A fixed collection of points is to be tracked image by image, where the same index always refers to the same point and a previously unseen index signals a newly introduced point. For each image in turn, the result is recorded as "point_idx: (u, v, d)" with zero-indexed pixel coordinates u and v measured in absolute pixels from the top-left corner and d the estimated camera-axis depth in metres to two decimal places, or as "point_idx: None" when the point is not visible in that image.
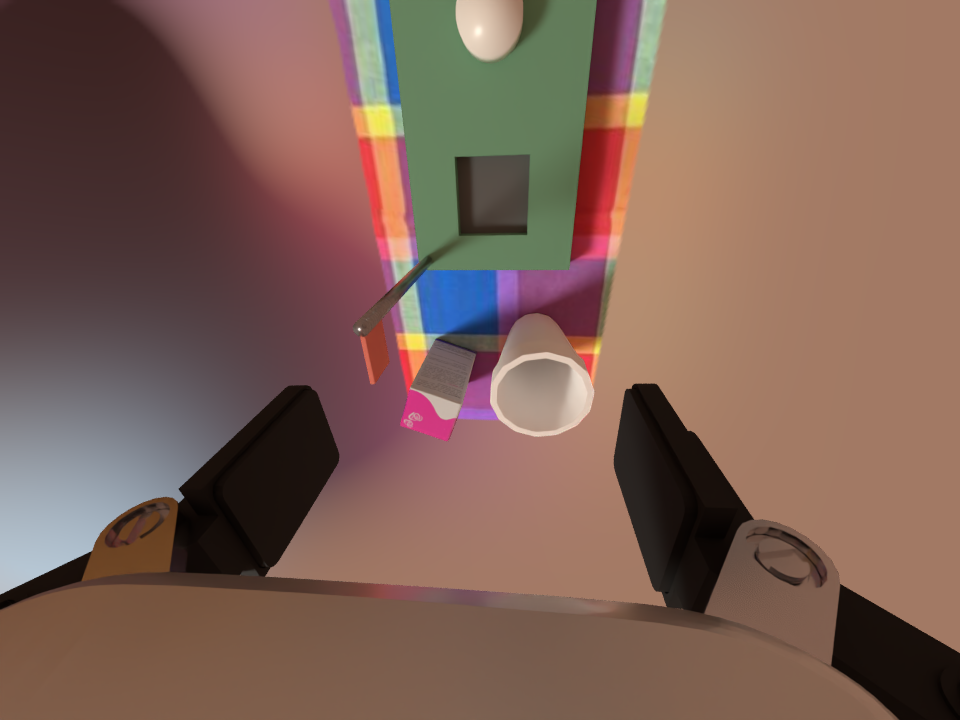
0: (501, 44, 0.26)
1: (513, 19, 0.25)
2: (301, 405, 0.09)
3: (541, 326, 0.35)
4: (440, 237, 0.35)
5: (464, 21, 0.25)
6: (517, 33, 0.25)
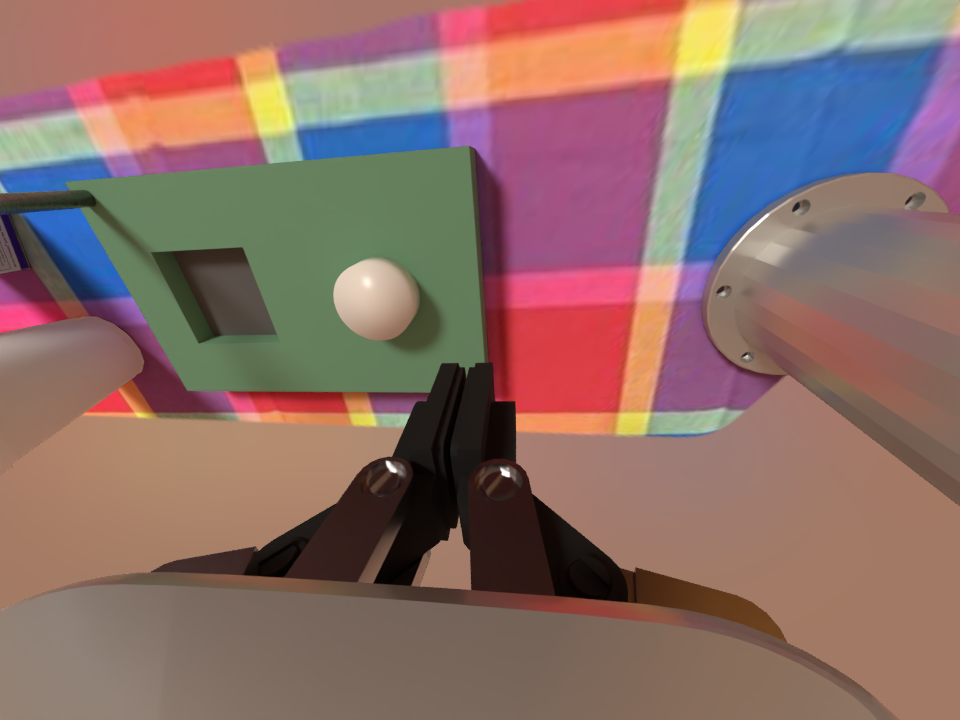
0: (348, 319, 0.22)
1: (372, 331, 0.22)
2: (461, 380, 0.10)
3: (75, 384, 0.26)
4: (133, 222, 0.22)
5: (358, 275, 0.20)
6: (363, 335, 0.22)
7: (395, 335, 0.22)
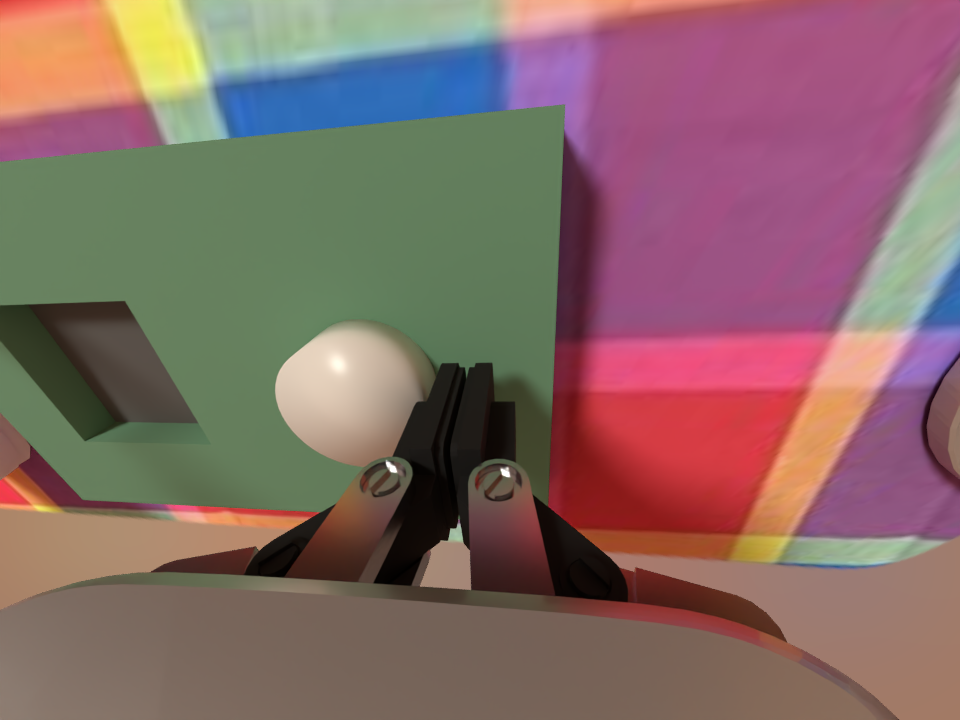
0: (308, 435, 0.12)
1: (352, 453, 0.12)
2: (461, 380, 0.10)
3: None
4: None
5: (318, 365, 0.10)
6: None
7: None
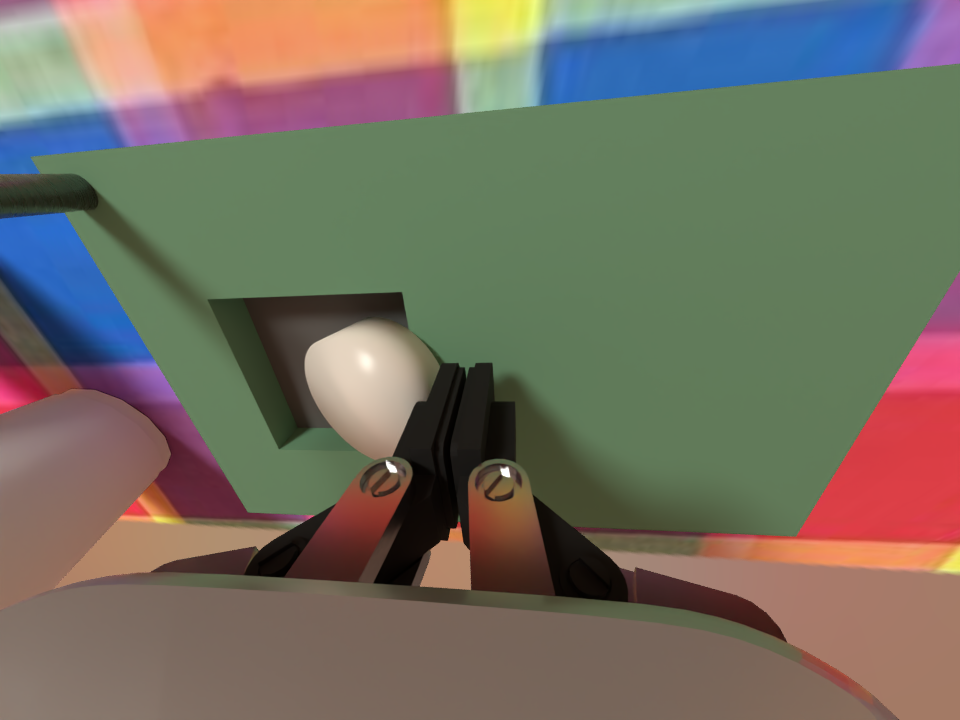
0: (330, 417, 0.13)
1: (362, 443, 0.13)
2: (461, 380, 0.10)
3: (58, 531, 0.14)
4: (175, 241, 0.11)
5: (329, 357, 0.11)
6: None
7: None
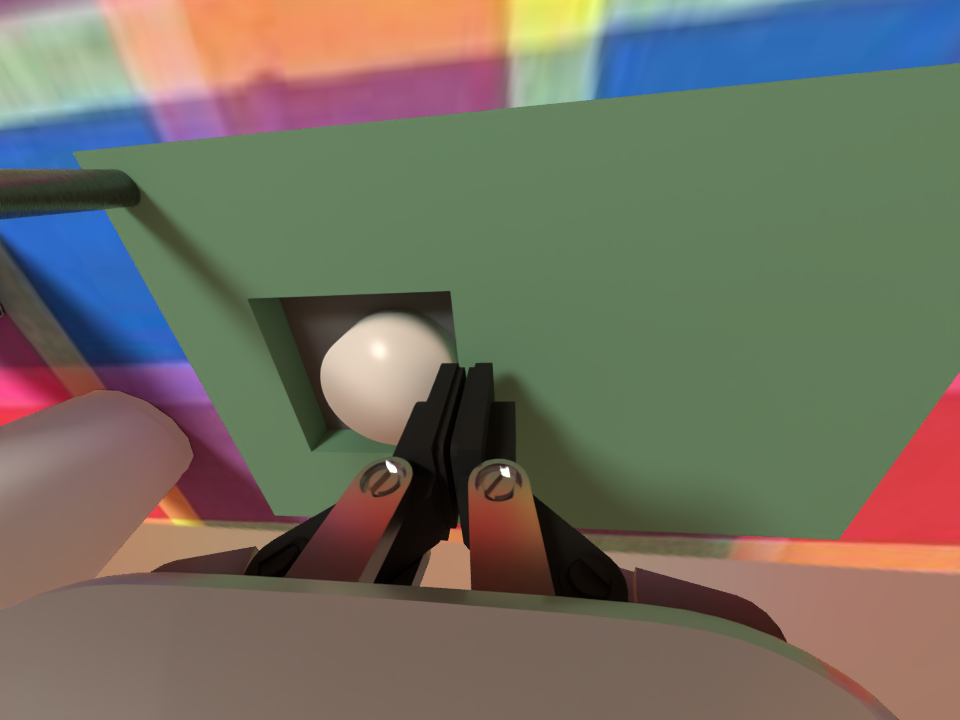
0: (349, 416, 0.13)
1: (389, 432, 0.13)
2: (461, 380, 0.10)
3: (88, 535, 0.14)
4: (218, 239, 0.11)
5: (361, 349, 0.11)
6: None
7: None
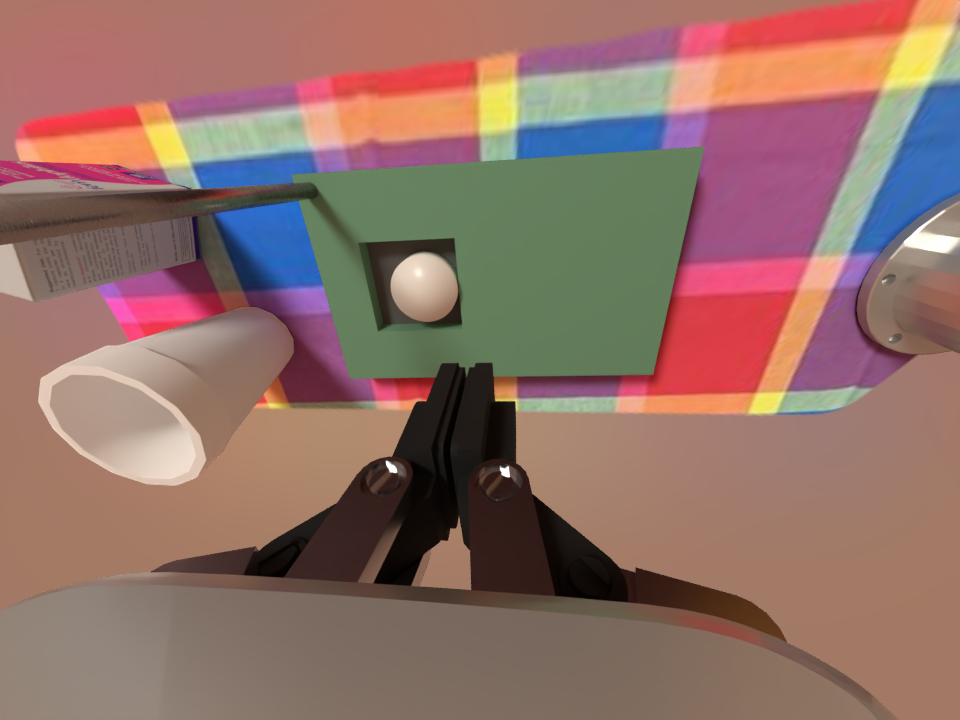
0: (402, 304, 0.26)
1: (422, 313, 0.26)
2: (461, 380, 0.10)
3: (262, 371, 0.27)
4: (349, 213, 0.23)
5: (412, 266, 0.24)
6: (414, 318, 0.26)
7: (442, 316, 0.26)
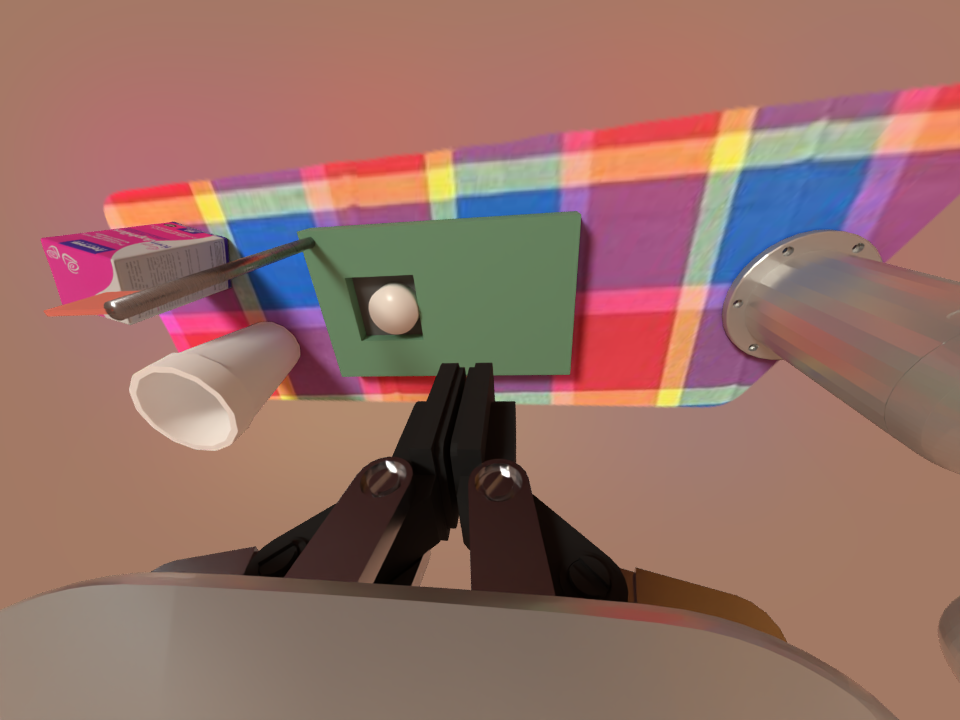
0: (377, 321, 0.35)
1: (392, 328, 0.35)
2: (461, 380, 0.10)
3: (276, 371, 0.36)
4: (338, 258, 0.33)
5: (384, 294, 0.33)
6: (387, 331, 0.36)
7: (407, 330, 0.35)
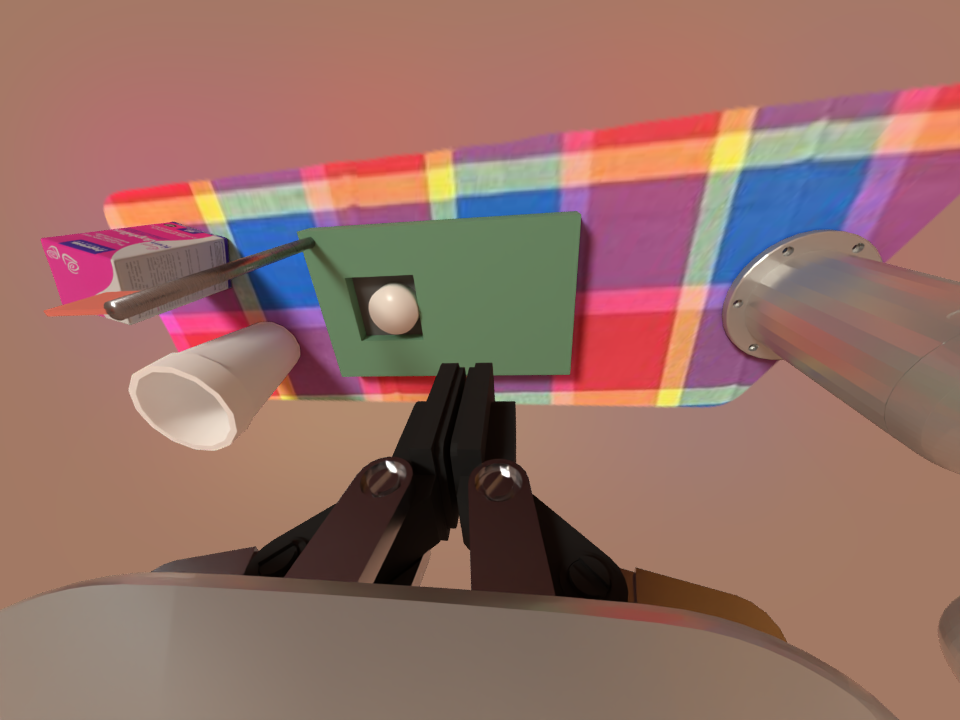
0: (377, 321, 0.35)
1: (392, 328, 0.35)
2: (461, 380, 0.10)
3: (276, 371, 0.36)
4: (338, 258, 0.33)
5: (384, 294, 0.33)
6: None
7: (406, 330, 0.35)
